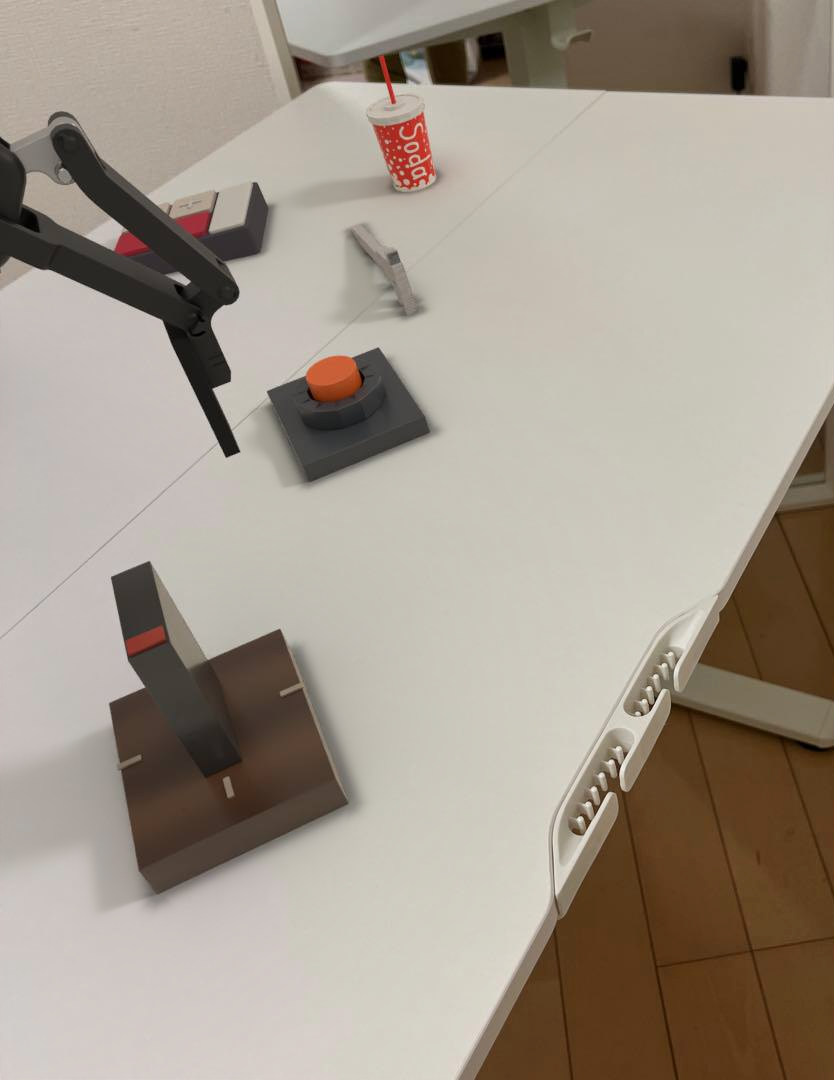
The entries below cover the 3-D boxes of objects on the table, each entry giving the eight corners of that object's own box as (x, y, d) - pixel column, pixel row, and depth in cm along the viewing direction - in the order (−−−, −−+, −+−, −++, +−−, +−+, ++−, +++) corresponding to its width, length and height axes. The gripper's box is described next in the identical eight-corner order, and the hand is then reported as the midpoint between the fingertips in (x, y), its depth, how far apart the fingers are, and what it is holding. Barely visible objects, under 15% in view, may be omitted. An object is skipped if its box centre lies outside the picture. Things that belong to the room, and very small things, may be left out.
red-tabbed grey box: (183, 693, 66) (108, 573, 59) (218, 678, 66) (147, 557, 60) (204, 778, 61) (125, 657, 54) (242, 760, 61) (168, 638, 55)
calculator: (124, 210, 120) (255, 173, 119) (142, 245, 123) (270, 210, 122) (104, 257, 112) (245, 219, 111) (125, 294, 115) (262, 257, 114)
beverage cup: (393, 205, 117) (354, 73, 108) (385, 183, 122) (348, 54, 113) (448, 190, 118) (415, 57, 108) (438, 168, 122) (406, 38, 113)
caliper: (420, 317, 99) (402, 255, 95) (409, 322, 99) (390, 259, 95) (361, 232, 114) (343, 174, 110) (351, 235, 114) (333, 178, 110)
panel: (127, 732, 69) (105, 700, 67) (296, 657, 71) (280, 624, 69) (160, 901, 59) (135, 870, 57) (354, 809, 61) (336, 776, 59)
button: (306, 385, 88) (299, 367, 86) (353, 367, 88) (347, 349, 87) (320, 410, 85) (312, 391, 83) (368, 390, 85) (361, 372, 84)
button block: (275, 412, 92) (258, 372, 90) (385, 368, 94) (372, 328, 91) (311, 488, 84) (294, 447, 81) (432, 438, 86) (419, 396, 83)
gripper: (-597, 201, 34) (-175, 653, 48) (178, -41, 39) (355, 434, 53) (-526, 130, 39) (-165, 555, 54) (147, -75, 44) (315, 365, 58)
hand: (94, 496), depth 53 cm, fingers open, 13 cm apart
